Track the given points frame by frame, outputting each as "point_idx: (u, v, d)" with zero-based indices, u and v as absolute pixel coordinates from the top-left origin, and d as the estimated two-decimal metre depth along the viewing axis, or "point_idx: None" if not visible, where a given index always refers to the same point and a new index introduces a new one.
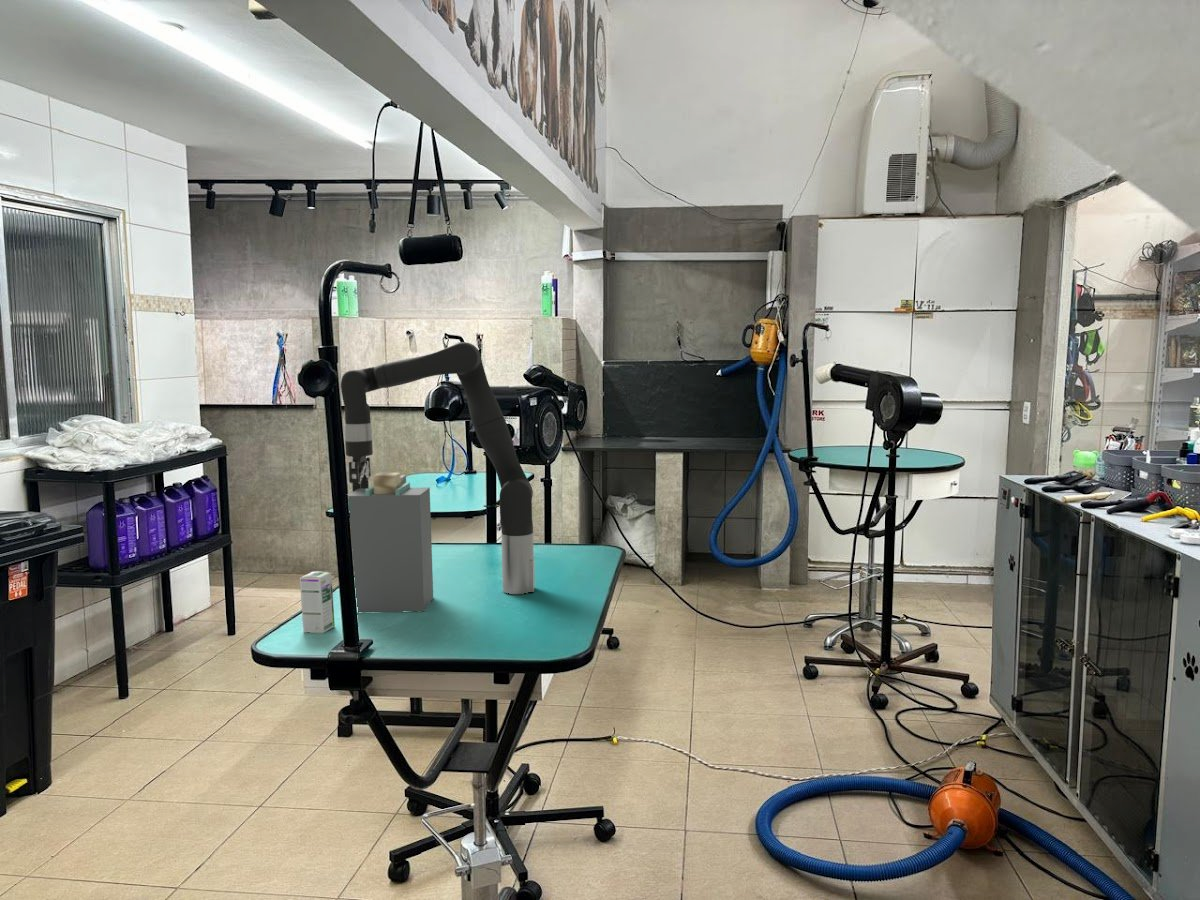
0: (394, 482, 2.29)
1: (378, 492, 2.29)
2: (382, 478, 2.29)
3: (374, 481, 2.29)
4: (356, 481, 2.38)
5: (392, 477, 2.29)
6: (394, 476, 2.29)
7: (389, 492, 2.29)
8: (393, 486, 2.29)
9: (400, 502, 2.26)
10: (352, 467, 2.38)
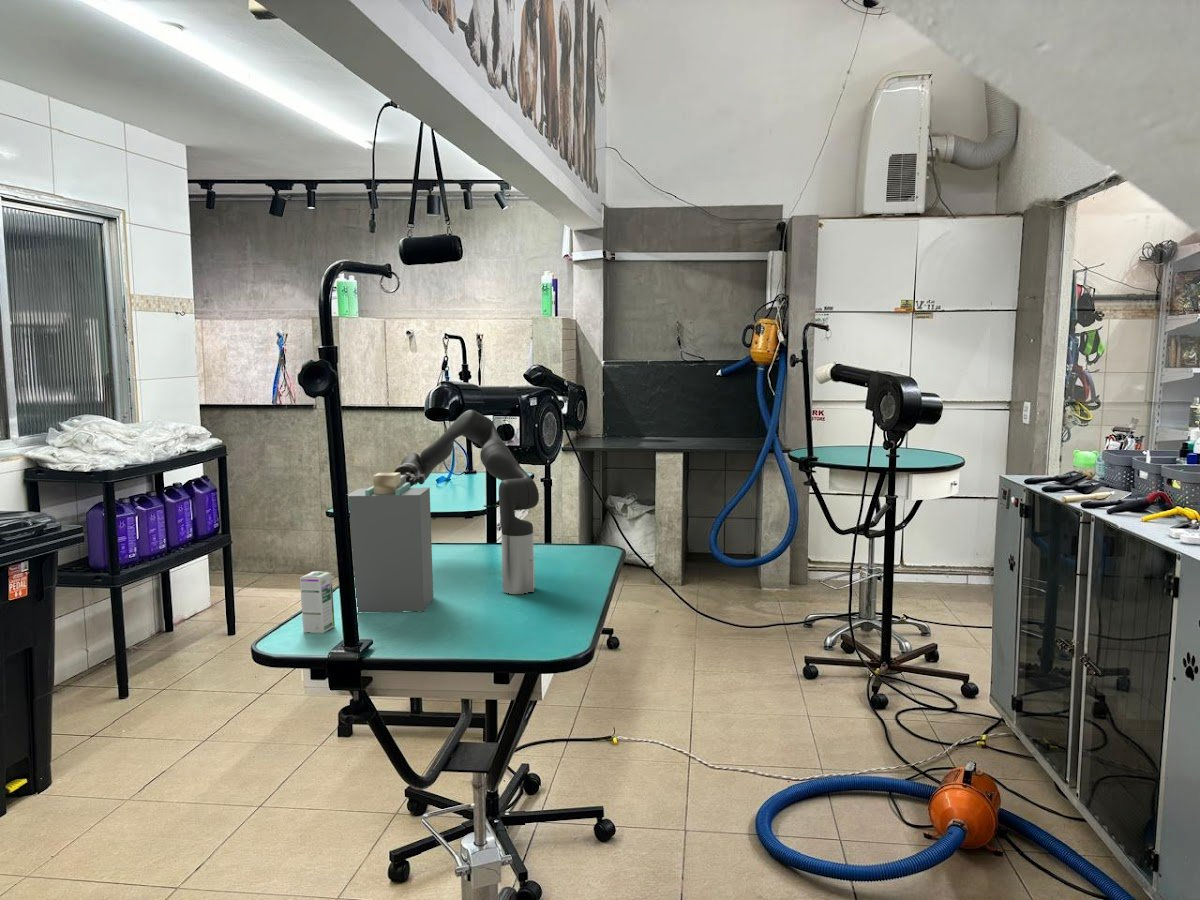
0: (394, 482, 2.29)
1: (378, 492, 2.29)
2: (382, 478, 2.29)
3: (374, 481, 2.29)
4: None
5: (392, 477, 2.29)
6: (394, 476, 2.29)
7: (389, 492, 2.29)
8: (393, 486, 2.29)
9: (400, 502, 2.26)
10: None
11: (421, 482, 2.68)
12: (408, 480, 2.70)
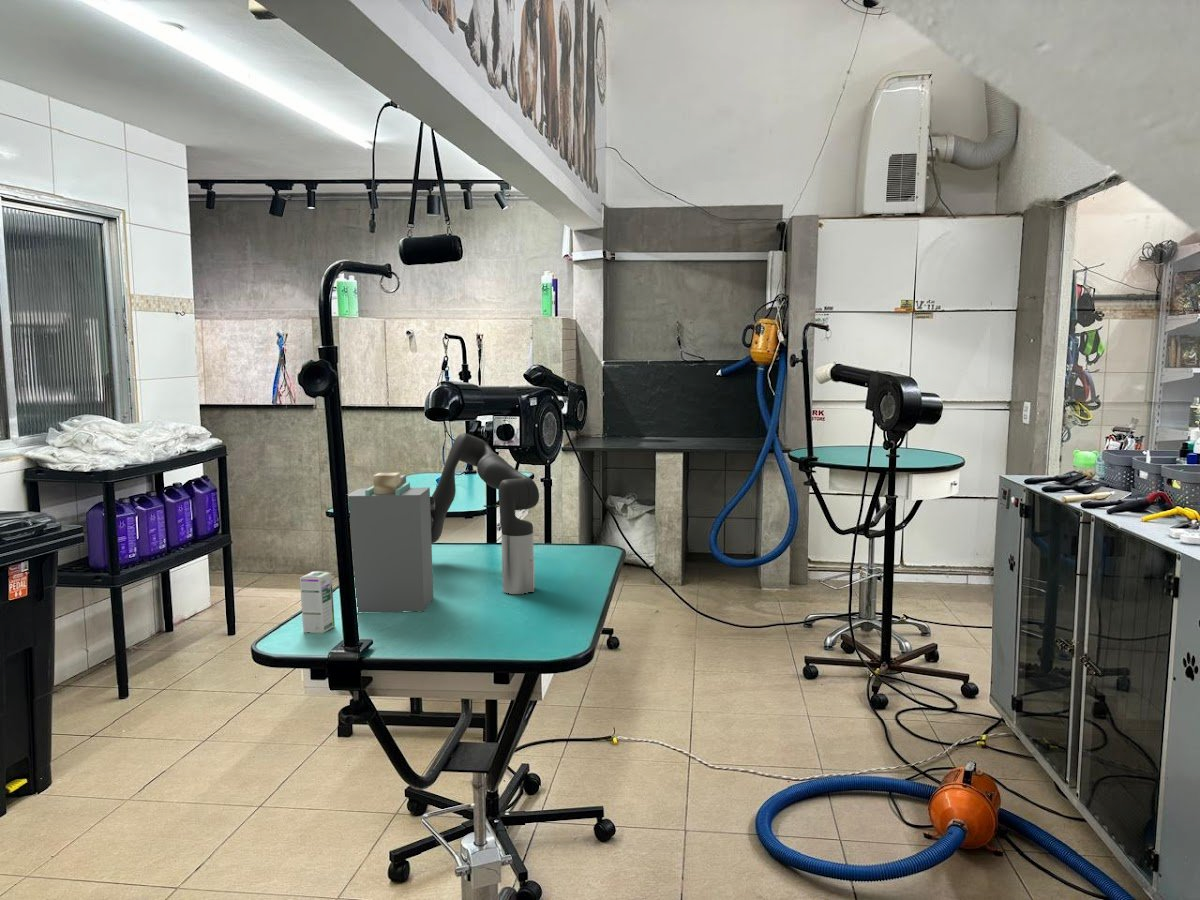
0: (394, 482, 2.29)
1: (378, 492, 2.29)
2: (382, 478, 2.29)
3: (374, 481, 2.29)
4: None
5: (392, 477, 2.29)
6: (394, 476, 2.29)
7: (389, 492, 2.29)
8: (393, 486, 2.29)
9: (400, 502, 2.26)
10: None
11: (431, 502, 2.61)
12: None
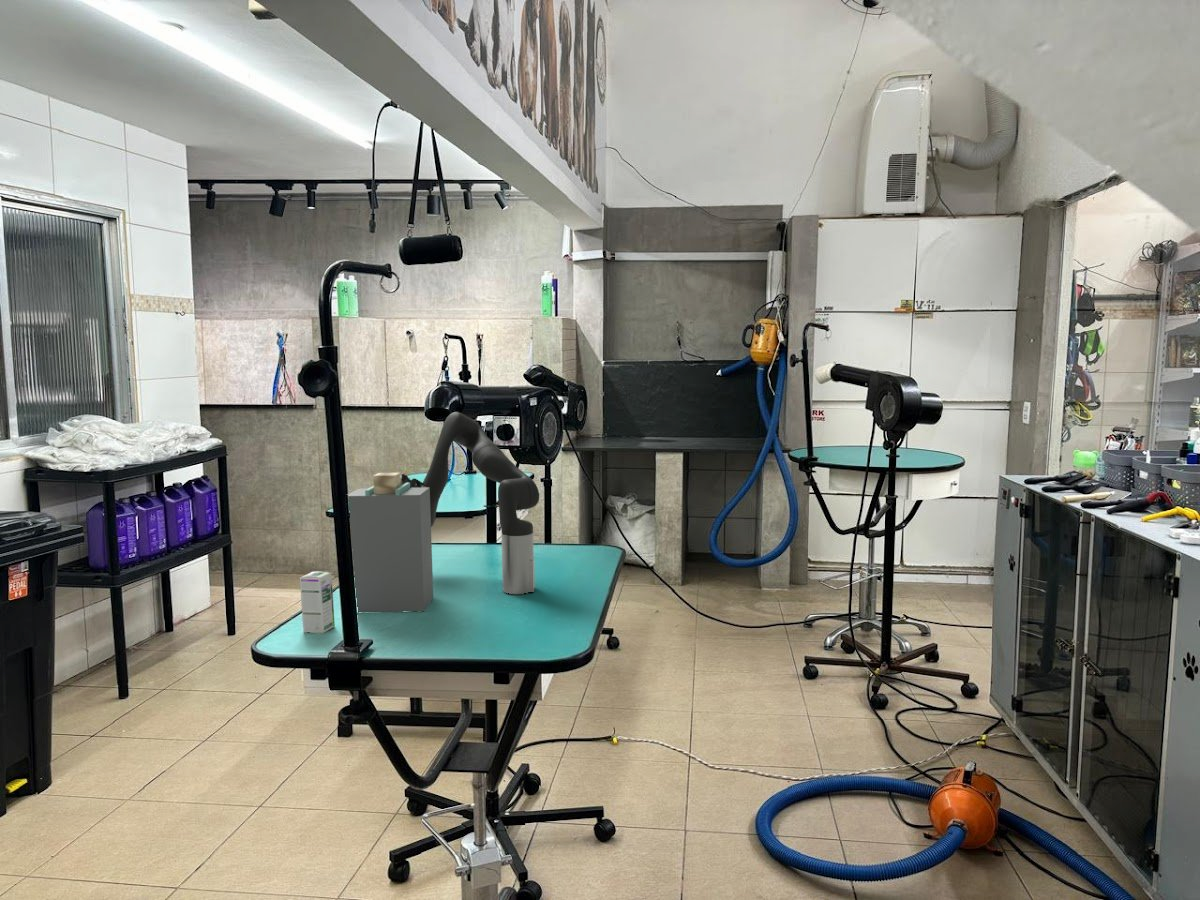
0: (394, 482, 2.29)
1: (378, 492, 2.29)
2: (382, 478, 2.28)
3: (374, 481, 2.29)
4: None
5: (392, 477, 2.29)
6: (394, 476, 2.28)
7: (389, 492, 2.29)
8: (393, 486, 2.29)
9: (400, 502, 2.26)
10: None
11: (413, 484, 2.47)
12: None
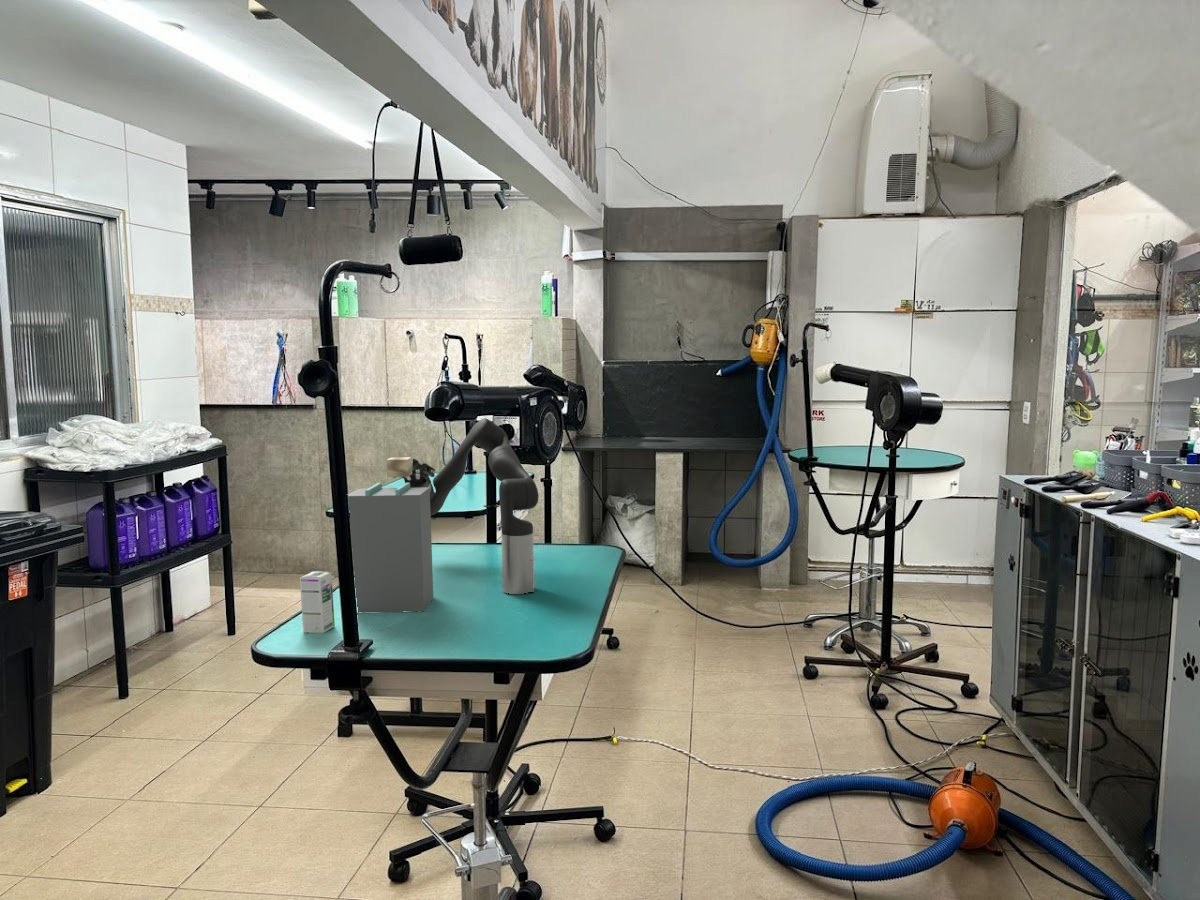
0: (406, 466, 2.44)
1: (391, 475, 2.44)
2: (395, 462, 2.44)
3: (387, 465, 2.44)
4: None
5: (404, 461, 2.44)
6: (406, 460, 2.44)
7: (401, 475, 2.45)
8: (405, 470, 2.44)
9: (400, 502, 2.26)
10: None
11: (423, 468, 2.63)
12: (415, 471, 2.65)
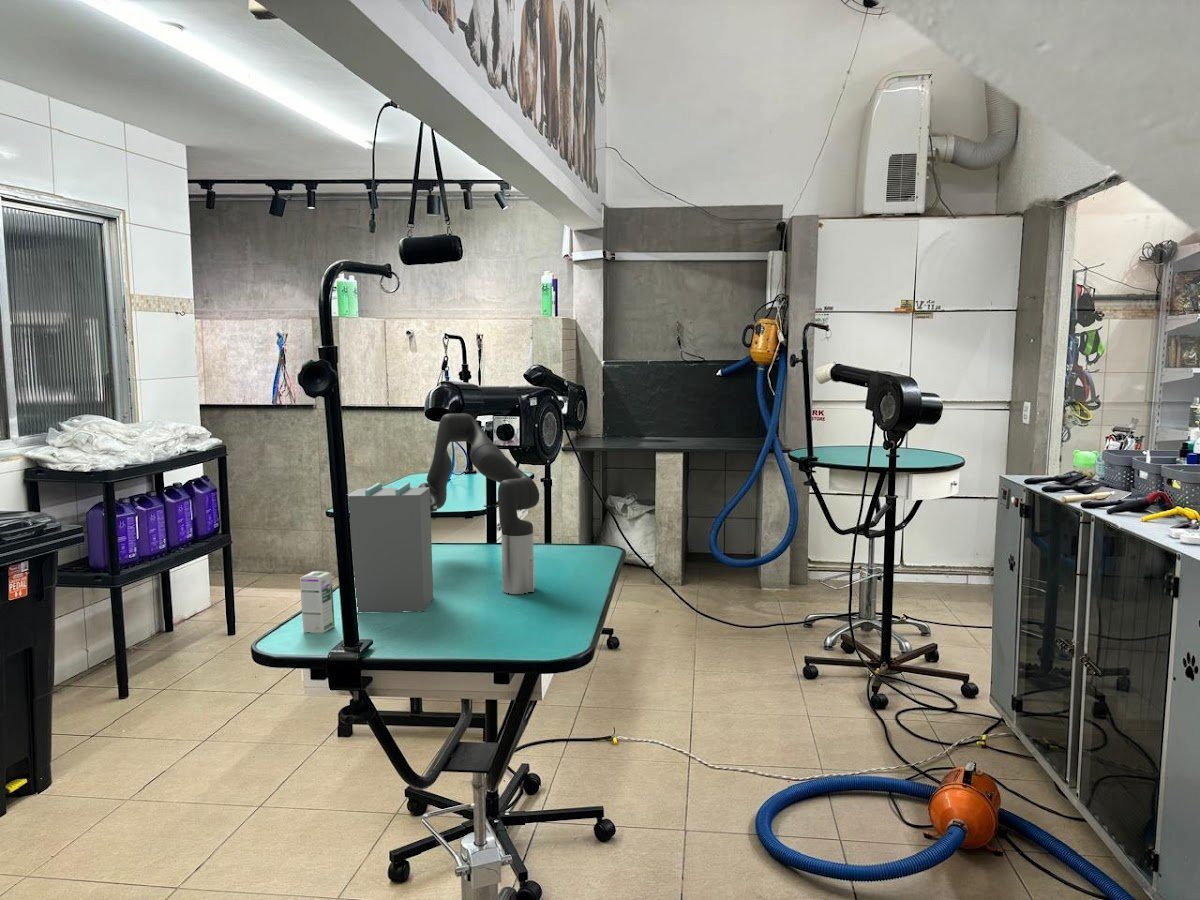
0: None
1: None
2: None
3: None
4: None
5: None
6: None
7: None
8: None
9: (400, 502, 2.26)
10: None
11: None
12: None
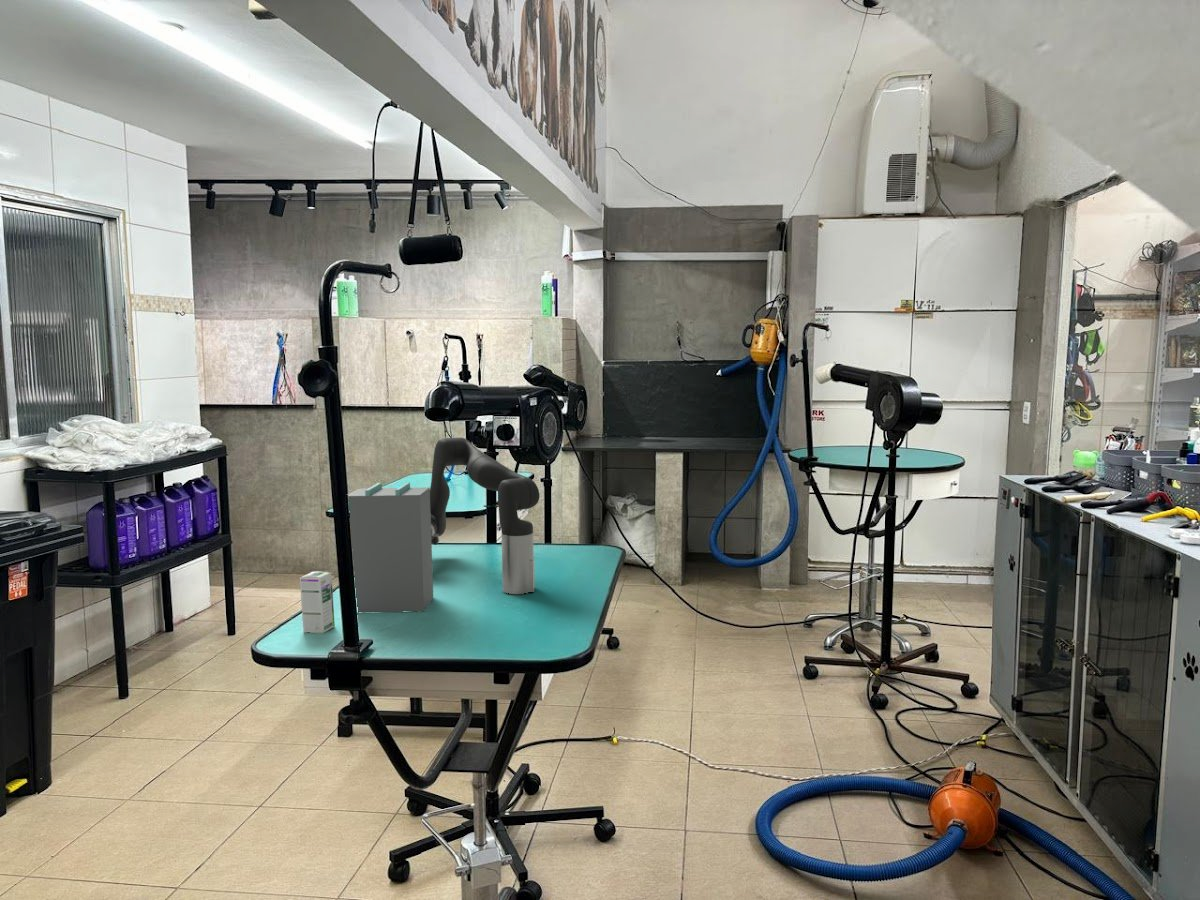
0: None
1: None
2: None
3: None
4: None
5: None
6: None
7: None
8: None
9: (400, 502, 2.26)
10: None
11: (435, 542, 2.67)
12: None
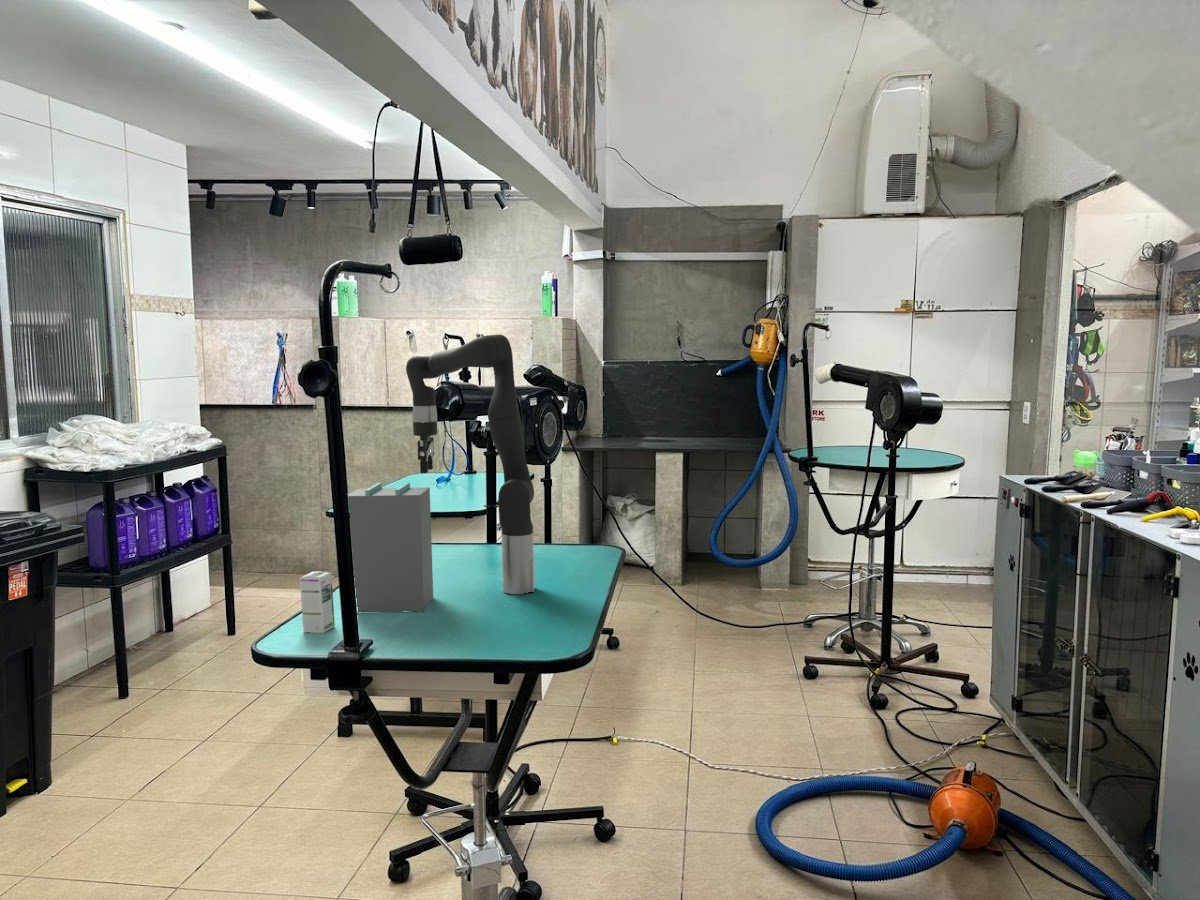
0: None
1: None
2: None
3: None
4: None
5: None
6: None
7: None
8: None
9: (400, 502, 2.26)
10: None
11: (424, 459, 2.61)
12: (425, 451, 2.65)
